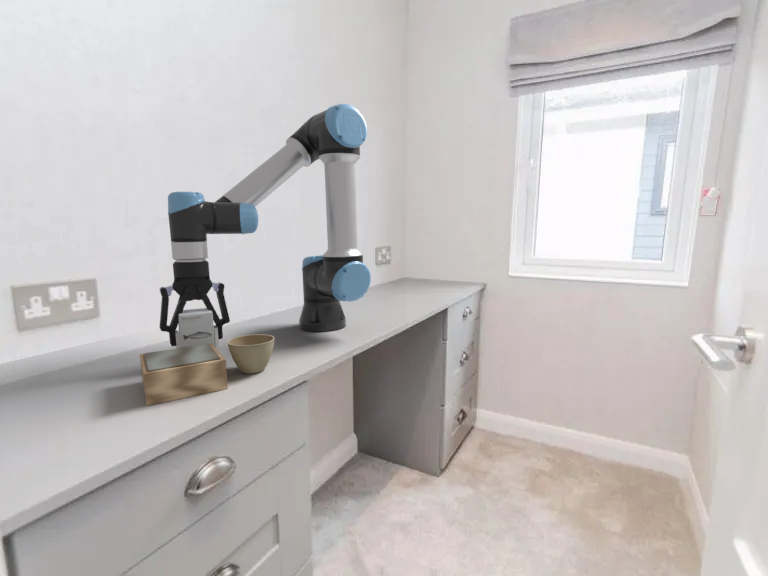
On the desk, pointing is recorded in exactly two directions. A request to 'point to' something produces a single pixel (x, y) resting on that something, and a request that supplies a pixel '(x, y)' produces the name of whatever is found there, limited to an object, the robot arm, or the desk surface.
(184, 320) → the supplement box
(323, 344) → the desk surface
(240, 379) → the desk surface
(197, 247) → the robot arm
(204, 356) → the wooden box
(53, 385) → the desk surface
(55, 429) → the desk surface
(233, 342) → the flower pot
